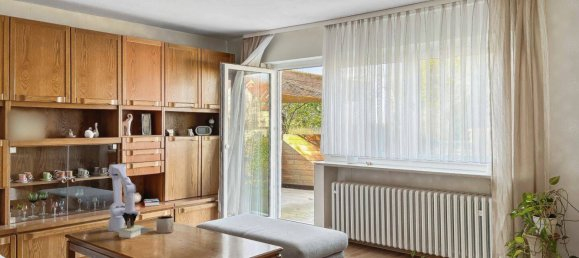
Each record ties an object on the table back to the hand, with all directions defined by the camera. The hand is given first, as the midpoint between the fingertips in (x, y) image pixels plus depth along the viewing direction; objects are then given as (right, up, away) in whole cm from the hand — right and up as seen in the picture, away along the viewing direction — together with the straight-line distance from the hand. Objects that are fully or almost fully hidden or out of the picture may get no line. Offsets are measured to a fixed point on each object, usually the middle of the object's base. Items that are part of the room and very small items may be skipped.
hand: (129, 225), depth 280 cm
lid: (0, -2, +1) cm, 2 cm away
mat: (+2, -7, +15) cm, 17 cm away
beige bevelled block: (0, -7, 0) cm, 7 cm away
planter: (+19, -7, +12) cm, 23 cm away
